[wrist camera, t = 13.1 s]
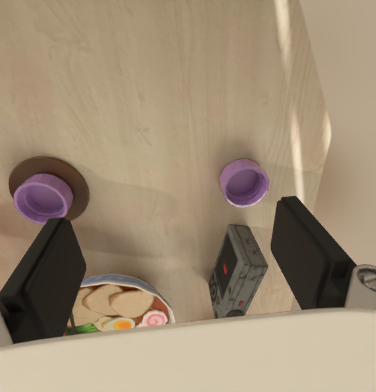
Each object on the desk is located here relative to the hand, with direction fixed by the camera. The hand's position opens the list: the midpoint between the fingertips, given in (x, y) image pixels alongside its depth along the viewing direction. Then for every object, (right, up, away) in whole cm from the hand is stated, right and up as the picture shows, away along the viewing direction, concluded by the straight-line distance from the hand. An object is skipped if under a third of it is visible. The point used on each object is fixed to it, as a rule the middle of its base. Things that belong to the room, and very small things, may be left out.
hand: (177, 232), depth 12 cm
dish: (+9, +4, +28) cm, 30 cm away
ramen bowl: (-14, -18, +39) cm, 45 cm away
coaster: (-20, +2, +26) cm, 33 cm away
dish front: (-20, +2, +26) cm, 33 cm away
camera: (+8, -10, +37) cm, 39 cm away
